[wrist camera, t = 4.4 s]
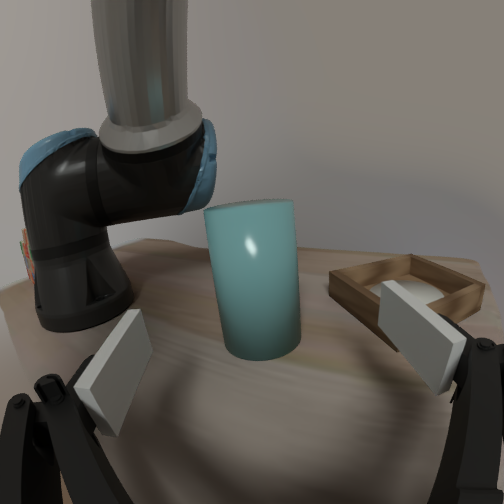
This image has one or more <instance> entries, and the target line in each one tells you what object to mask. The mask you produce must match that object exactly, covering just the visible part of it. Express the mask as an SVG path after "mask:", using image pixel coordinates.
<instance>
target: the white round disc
mask: <svg viewBox="0 0 504 504" xmlns="http://www.w3.org/2000/svg"><path fill="white" fill-rule="evenodd" d="M394 281H395V282H396V283H398V284H399V285H400V286H402V287H403V288H404V289H406V290H407V291H408V292H410V293H411V294H412V295H414V296H415V297H416V298H417V299H419V300H420V301H421V302H423V303H424V304H425V305H426V304H428V303H431V302H433V301H436V300H438V299H440V298H443V297H444V295H443V294H442V293H441V292H440V291H439V290H438V289H436V288H435V287H433V286H431V285H428V284H425V283H421V282H417V281H409V280H394ZM369 291H371V292H373V293H374V294H376V295H377V296H379V297H380V296H381V283H380V284H377V285H375V286H373V287H372V288H371V289H370V290H369Z"/></svg>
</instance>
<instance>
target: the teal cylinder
mask: <svg viewBox="0 0 504 504" xmlns="http://www.w3.org/2000/svg"><path fill="white" fill-rule="evenodd" d="M204 219H205V226H206V233H207V240H208V247H209V254H210V260H211V267H212V273H213V279H214V286H215V292H216V298H217V304H218V309H219V315H220V321H221V327H222V332H223V338H224V343H225V347H226V349H227V350H228V351H229V352H230V353H231V354H232V355H234V356H236V357H238V358H241V359H245V360H251V361H264V360H271V359H275V358H279V357H281V356H284V355H286V354H288V353H290V352H291V351H293V350H294V349H295V348H296V347H297V346H298V344H299V343H300V340H301V320H300V296H299V276H298V259H297V246H296V230H295V217H294V205H293V200H289V199H264V200H251V201H243V202H235V203H229V204H223V205H218V206H214V207H210V208H207V209H205V210H204Z"/></svg>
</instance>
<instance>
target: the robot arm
mask: <svg viewBox="0 0 504 504" xmlns="http://www.w3.org/2000/svg"><path fill="white" fill-rule="evenodd" d="M91 7H92V18H93V28H94V37H95V44H96V52H97V59H98V65H99V71H100V77H101V82H102V88H103V93H104V98H105V103H106V108H107V112H108V116H107V118H106V119H105V121H104V122H103V123H102V125H101V127H100V130H99V137H97V135H96V134H95V132H94V131H93V130H92V129H89V128H76V129H73V130H71V131H62V132H59V133H56V134H53V135H51V136H48V137H47V138H44V139H42V140H40V141H39V142H37V143H36V144H34V145H33V146H31V147H30V148H29V149H28V150H27V151H26V152H25V153H24V155H23V157H22V159H21V161H20V165H19V181H20V182H19V183H20V184H19V192H20V194H21V201H22V208H23V215H24V221H25V226H26V232H27V237H28V241H29V246H30V250H31V254H32V259H33V263H34V289H35V309H36V313H37V315H38V318H39V321H40V324H41V326H42V327H43V328H45V329H47V330H50V331H55V332H69V331H76V330H81V329H85V328H89V327H92V326H95V325H98V324H100V323H103V322H105V321H107V320H109V319H111V318H113V317H115V316H116V315H118V314H119V313H121V312H122V311H124V310H125V309H126V308H127V307H128V306H129V305H130V304H131V302H132V301H133V298H134V295H133V291H132V287H131V283H130V280H129V278H128V276H127V275H126V273H125V271H124V270H123V268H122V266H121V264H120V263H119V261H118V259H117V257H116V255H115V254H114V252H113V250H112V248H111V246H110V243H109V238H108V233H107V226H110V225H115V224H121V223H127V222H133V221H140V220H146V219H153V218H159V217H166V216H173V215H181V214H183V213H186V212H190V211H195V210H199V209H202V208H204V207H205V206H206V205H207V204H208V203H209V202H210V200H211V198H212V195H213V192H214V187H215V180H216V170H217V169H216V168H217V163H216V154H217V143H216V134H215V130H214V126H213V124H212V122H211V121H210V120H207V119H204V118H202V112H201V110H200V108H199V107H198V106H197V105H196V104H194V103H193V102H192V101H190V100H189V99H188V97H187V8H188V0H91ZM378 326H379V327H380V328H381V329H382V331H383V332H384V333H385V334H386V335H387V337H388V338H389V339H390V340H391V341H392V342H393V344H394V345H395V346H396V347H397V348H398V350H399V351H400V352H401V353H402V355H403V356H404V357H405V358H406V359H407V361H408V362H409V363H410V364H411V365H412V367H413V368H414V369H415V370H416V372H417V373H418V374H419V375H420V377H421V378H422V379H423V380H424V382H425V383H426V384H427V385H428V387H429V388H430V389H431V391H432V392H433V393H434V394H435V396H437V395H440V394H442V393H444V392H447V391H449V389H450V386H451V384H452V381H453V380H454V381H455V383H456V384H457V387H456V389H455V392H454V394H453V396H452V399H451V401H450V403H452V402H453V407H452V414H451V419H450V425H449V430H448V435H447V439H446V444H445V448H444V452H443V456H442V460H441V463H440V467H439V470H438V473H437V477H436V480H435V483H434V486H433V489H432V492H431V495H430V497H429V500H428V503H427V504H503V496H504V493H503V491H502V490H498V489H497V481H498V474H499V466H500V457H501V445H502V437H503V442H504V344H500V345H496V344H495V343H494V342H493V341H492V340H490V339H487V338H477V339H474V338H473V337H472V336H471V335H469V334H468V333H467V332H466V331H465V330H463V329H462V328H461V327H459V326H458V325H457V324H456V323H454V322H453V321H452V320H451V319H450V318H448V317H447V316H444V315H442V314H440V313H438V314H436V313H435V312H434V311H433V310H431V309H430V308H429V307H428V306H426V305H425V304H424V303H423V302H421V301H420V300H419V299H417V298H416V297H415V296H414V295H412V294H411V293H410V292H408V291H407V290H406V289H404V288H403V287H402V286H400V285H399V284H398V283H396V282H395V281H394V280H390V281H384V282H381V296H380V307H379V317H378ZM152 353H153V349H152V346H151V343H150V340H149V336H148V333H147V330H146V326H145V323H144V319H143V315H142V312H141V309H130V310H128V311H127V312H126V313H125V315H124V316H123V317H122V319H121V320H120V321H119V323H118V324H117V325H116V327H115V328H114V330H113V331H112V332H111V334H110V335H109V336H108V338H107V339H106V341H105V342H104V343H103V345H102V346H101V348H100V349H99V350H98V352H97V353H96V355H91V356H89V357H88V358H87V359H85V360H84V361H83V363H82V364H81V365H80V367H79V368H78V370H77V371H76V374H74V375H73V377H72V378H71V380H70V381H69V383H68V384H67V385H66V387H65V385H64V383H63V381H62V379H61V377H60V376H59V375H57V374H48V375H45V376H43V377H41V378H40V379H38V380H37V382H36V383H35V385H34V389H35V391H36V393H37V394H38V396H39V398H40V399H41V401H42V402H32V400H31V399H30V397H29V396H28V395H27V394H25V393H20V394H17V395H15V396H13V397H12V398H11V399H10V400H9V402H8V404H7V408H6V412H5V416H4V420H3V424H2V429H1V434H0V504H63V499H62V491H61V478H60V471H61V474H62V476H63V479H64V482H65V485H66V487H67V490H68V492H69V495H70V498H71V500H72V502H73V504H134V503H133V501H132V500H131V498H130V497H129V495H128V494H127V492H126V491H125V489H124V487H123V486H122V484H121V482H120V481H119V479H118V477H117V475H116V474H115V472H114V470H113V468H112V467H111V465H110V463H109V461H108V459H107V457H106V455H105V453H104V451H103V449H102V447H101V445H100V443H99V441H98V439H97V437H96V436H95V434H94V433H93V432H94V430H95V428H96V426H97V428H98V429H99V431H100V432H101V434H102V435H106V436H112V437H118V435H119V432H120V430H121V427H122V424H123V422H124V419H125V417H126V414H127V412H128V409H129V407H130V404H131V402H132V400H133V397H134V395H135V392H136V390H137V387H138V385H139V383H140V380H141V378H142V376H143V373H144V371H145V369H146V366H147V364H148V362H149V359H150V357H151V355H152ZM453 400H454V401H453Z"/></svg>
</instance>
